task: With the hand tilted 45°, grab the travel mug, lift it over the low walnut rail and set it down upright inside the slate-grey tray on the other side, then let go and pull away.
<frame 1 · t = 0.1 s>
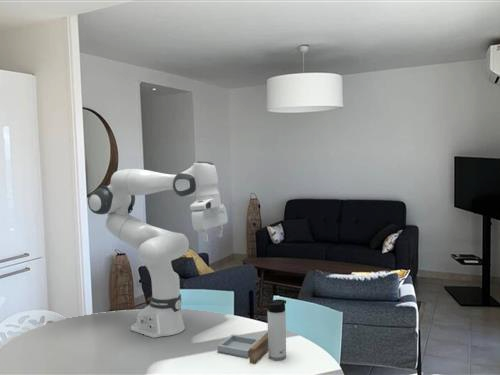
hand: (213, 239, 168), 39 cm above the table, tool pointing down, fingers open, 8 cm apart
slate tray: (239, 349, 161), on the table
travel mug: (277, 357, 154), on the table
walnut rail: (263, 352, 158), on the table
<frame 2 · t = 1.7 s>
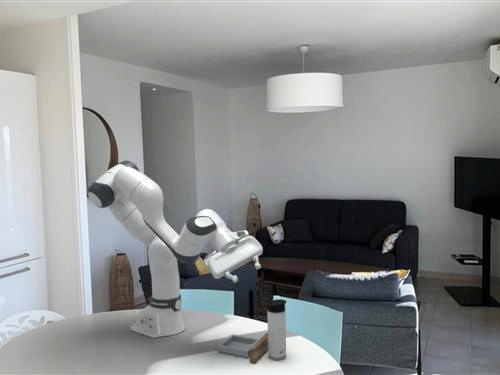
hand: (247, 274, 152), 29 cm above the table, tool tilted 50°, fingers open, 8 cm apart
nothing on the table moved.
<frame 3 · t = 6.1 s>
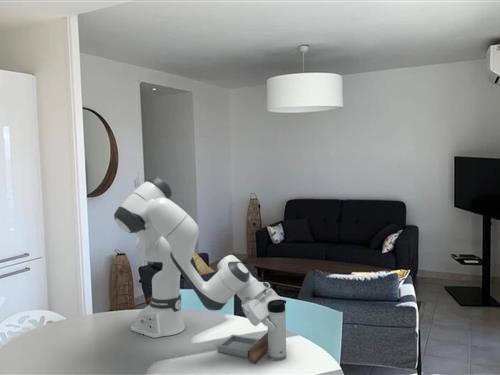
hand: (278, 325, 153), 11 cm above the table, tool tilted 45°, fingers closed on travel mug, 6 cm apart
travel mug: (277, 357, 154), on the table, touching gripper
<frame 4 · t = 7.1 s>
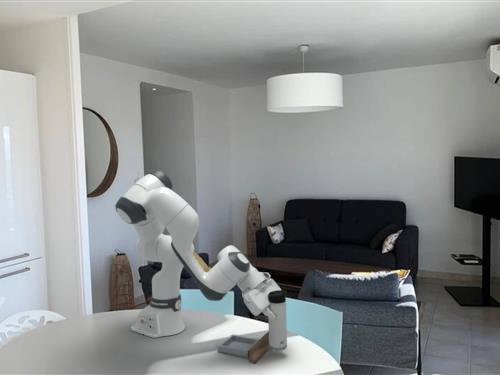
hand: (279, 314, 154), 15 cm above the table, tool tilted 45°, fingers closed on travel mug, 6 cm apart
travel mug: (278, 347, 155), point 3 cm above the table, touching gripper
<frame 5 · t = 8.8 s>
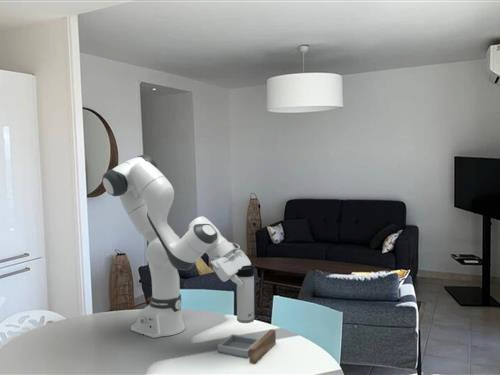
hand: (246, 282, 160), 24 cm above the table, tool tilted 45°, fingers closed on travel mug, 6 cm apart
travel mug: (246, 320, 161), point 10 cm above the table, touching gripper
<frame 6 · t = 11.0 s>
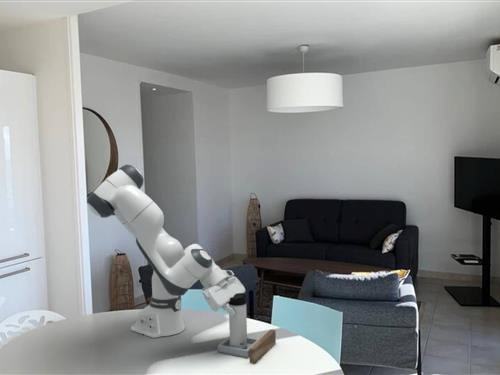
hand: (239, 311, 159), 14 cm above the table, tool tilted 45°, fingers closed on travel mug, 6 cm apart
travel mug: (239, 348, 160), resting on slate tray, touching gripper
when the fingers open (14 cm above the table, at t = 11.9 s): travel mug stays where it is, resting on slate tray.
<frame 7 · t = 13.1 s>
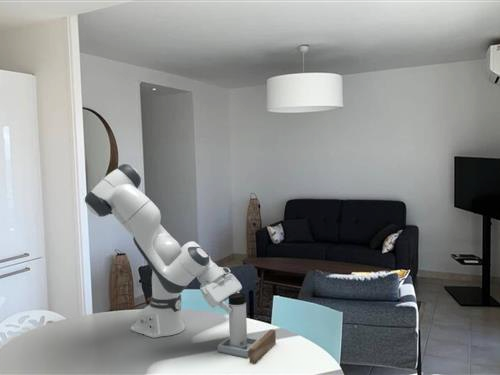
hand: (236, 307, 161), 15 cm above the table, tool tilted 45°, fingers open, 8 cm apart
travel mug: (239, 348, 160), resting on slate tray, touching gripper
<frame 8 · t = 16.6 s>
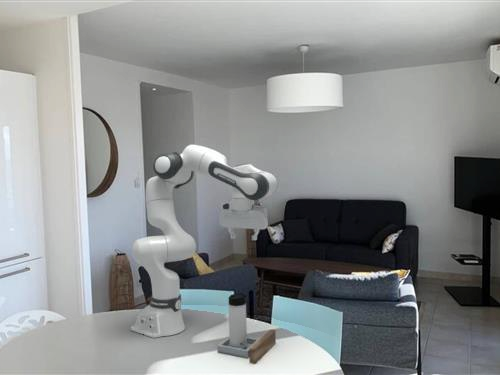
hand: (243, 239, 176), 37 cm above the table, tool pointing down, fingers open, 8 cm apart
travel mug: (238, 348, 160), resting on slate tray
at the end: travel mug inside the target area on the slate tray (0.5 cm from its centre), point 0.4 cm above the slate tray's base; travel mug tilted 0°; the gripper is holding nothing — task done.
